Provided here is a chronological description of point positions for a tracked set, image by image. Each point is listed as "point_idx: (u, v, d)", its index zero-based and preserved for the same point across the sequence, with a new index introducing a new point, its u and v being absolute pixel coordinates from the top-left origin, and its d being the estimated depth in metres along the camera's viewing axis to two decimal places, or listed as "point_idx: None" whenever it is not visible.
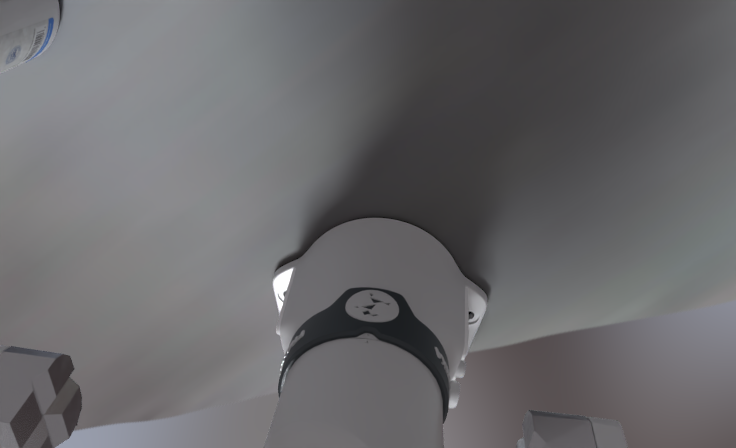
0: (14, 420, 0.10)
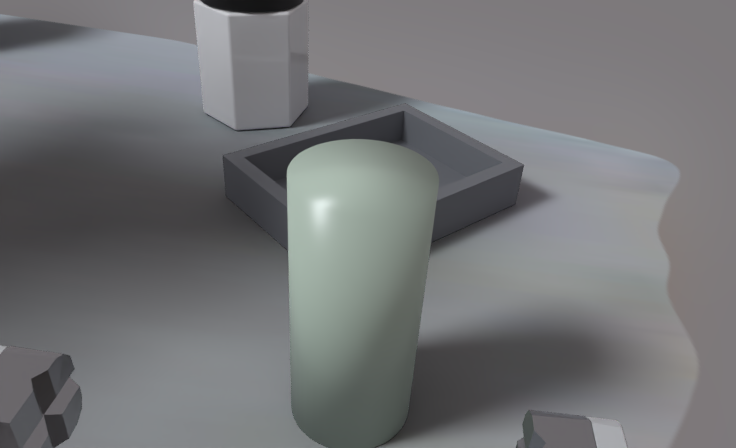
0: (14, 420, 0.10)
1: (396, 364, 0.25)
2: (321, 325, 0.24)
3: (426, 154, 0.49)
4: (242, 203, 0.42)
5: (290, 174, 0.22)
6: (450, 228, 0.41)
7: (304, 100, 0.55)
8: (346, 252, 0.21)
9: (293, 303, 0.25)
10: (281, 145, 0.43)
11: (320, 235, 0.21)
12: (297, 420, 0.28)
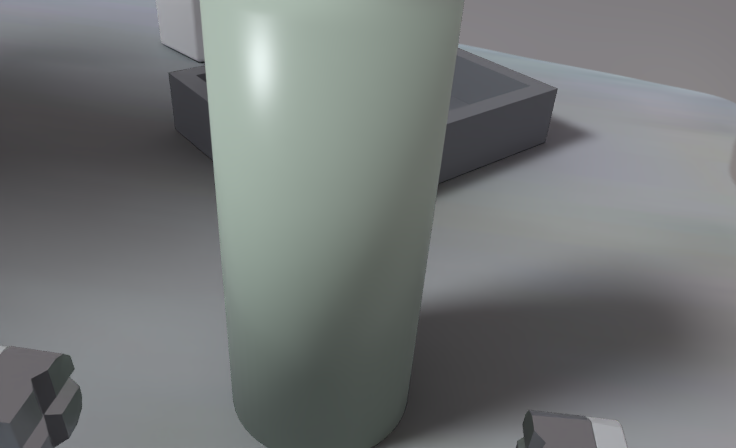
0: (14, 420, 0.10)
1: (388, 322, 0.16)
2: (262, 251, 0.14)
3: None
4: (193, 135, 0.32)
5: None
6: (463, 167, 0.31)
7: None
8: (299, 107, 0.12)
9: (221, 220, 0.15)
10: None
11: (251, 78, 0.12)
12: (238, 413, 0.18)
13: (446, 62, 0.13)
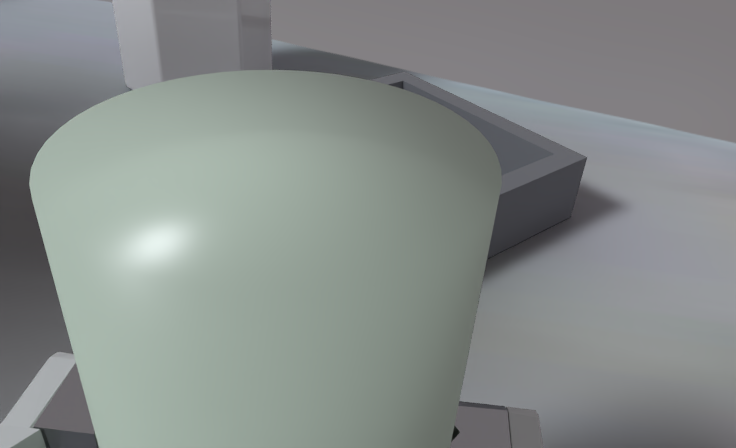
0: None
1: None
2: None
3: None
4: None
5: (51, 147, 0.07)
6: None
7: None
8: (201, 407, 0.06)
9: None
10: None
11: (115, 352, 0.06)
12: None
13: (472, 291, 0.07)
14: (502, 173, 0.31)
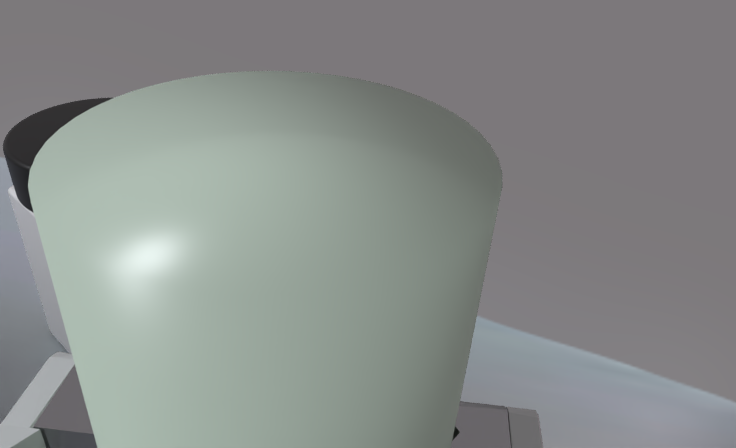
0: None
1: None
2: None
3: None
4: None
5: (49, 150, 0.07)
6: None
7: None
8: (201, 410, 0.06)
9: None
10: None
11: (113, 355, 0.06)
12: None
13: (472, 293, 0.07)
14: None
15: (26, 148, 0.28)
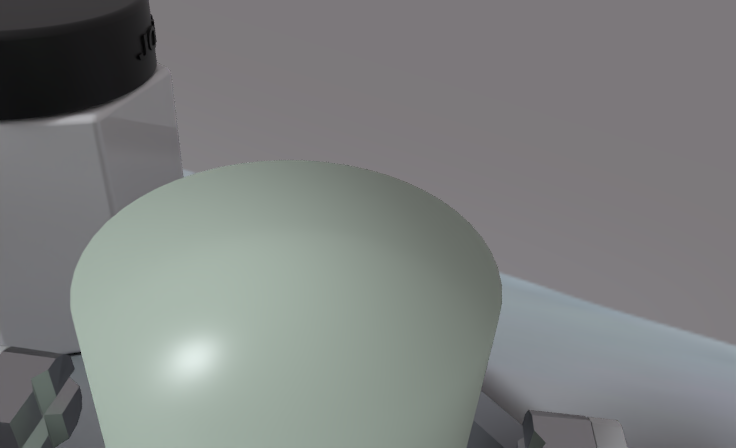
0: (14, 420, 0.10)
1: None
2: None
3: None
4: None
5: (87, 263, 0.08)
6: None
7: None
8: None
9: None
10: None
11: None
12: None
13: (473, 401, 0.08)
14: None
15: None
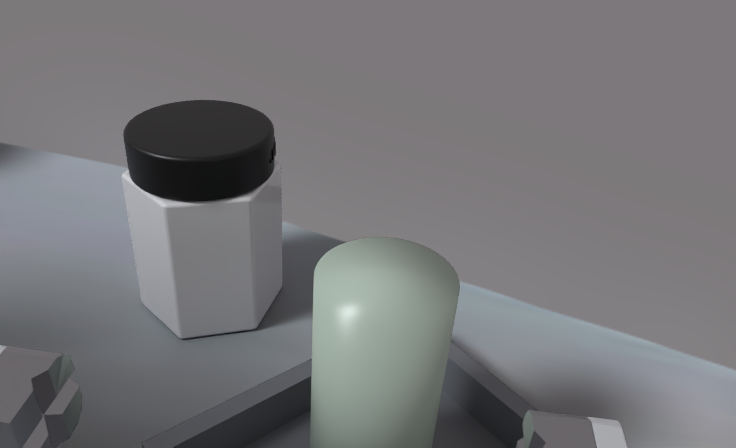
0: (14, 420, 0.10)
1: None
2: (344, 421, 0.24)
3: None
4: None
5: (317, 278, 0.23)
6: None
7: (276, 284, 0.42)
8: (372, 358, 0.22)
9: (316, 397, 0.25)
10: (231, 415, 0.30)
11: (347, 342, 0.22)
12: None
13: (450, 324, 0.23)
14: (504, 439, 0.32)
15: (144, 138, 0.34)
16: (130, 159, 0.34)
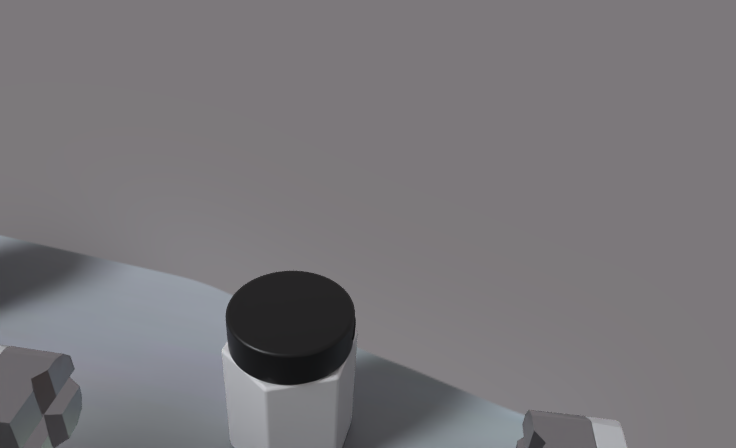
0: (14, 420, 0.10)
1: None
2: None
3: None
4: None
5: None
6: None
7: (348, 423, 0.47)
8: None
9: None
10: None
11: None
12: None
13: None
14: None
15: (246, 329, 0.39)
16: (234, 346, 0.39)
